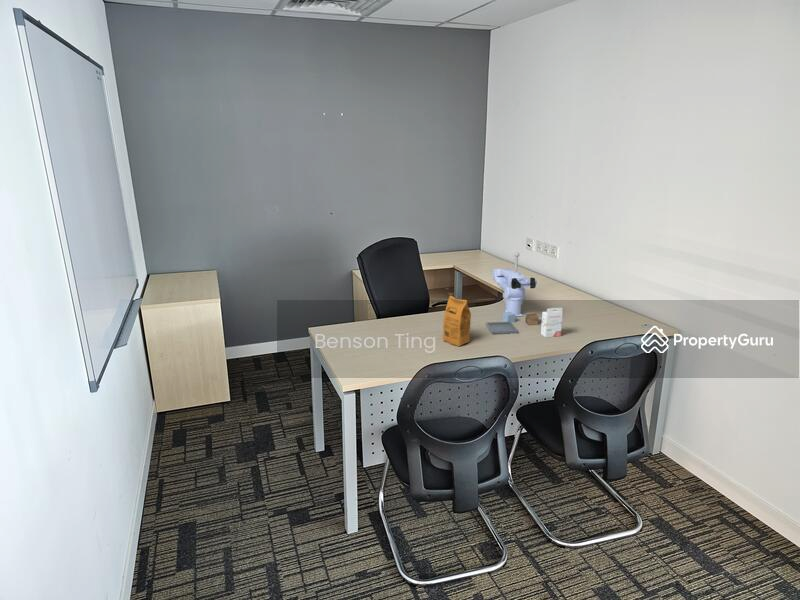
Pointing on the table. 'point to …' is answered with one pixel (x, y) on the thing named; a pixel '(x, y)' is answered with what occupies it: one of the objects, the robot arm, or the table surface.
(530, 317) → the walnut cube
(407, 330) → the table surface
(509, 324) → the tray
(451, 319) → the coffee package
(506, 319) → the slate blue block
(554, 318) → the ink cartridge box
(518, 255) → the flag stand
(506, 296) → the robot arm
